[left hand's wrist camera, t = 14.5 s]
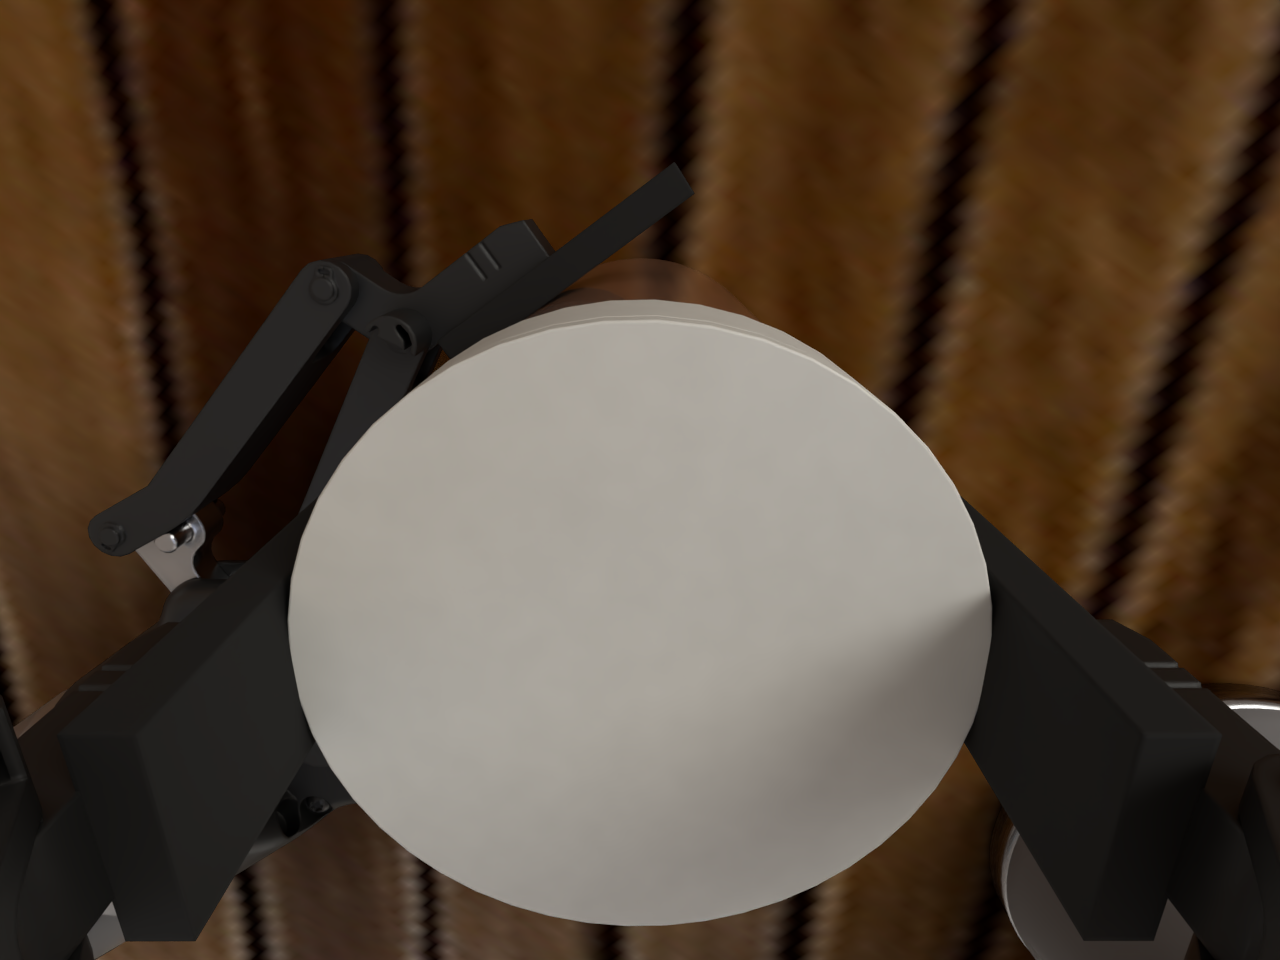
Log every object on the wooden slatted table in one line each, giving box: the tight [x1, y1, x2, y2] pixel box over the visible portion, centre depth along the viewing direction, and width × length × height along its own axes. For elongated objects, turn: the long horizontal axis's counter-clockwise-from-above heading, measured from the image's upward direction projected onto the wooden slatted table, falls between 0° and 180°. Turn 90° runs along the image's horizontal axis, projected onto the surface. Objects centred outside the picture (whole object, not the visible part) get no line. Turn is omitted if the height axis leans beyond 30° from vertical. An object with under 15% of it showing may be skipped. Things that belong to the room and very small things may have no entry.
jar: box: [524, 258, 762, 323], centre depth 18 cm, size 9×9×15 cm
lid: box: [287, 300, 992, 926], centre depth 11 cm, size 10×10×2 cm
